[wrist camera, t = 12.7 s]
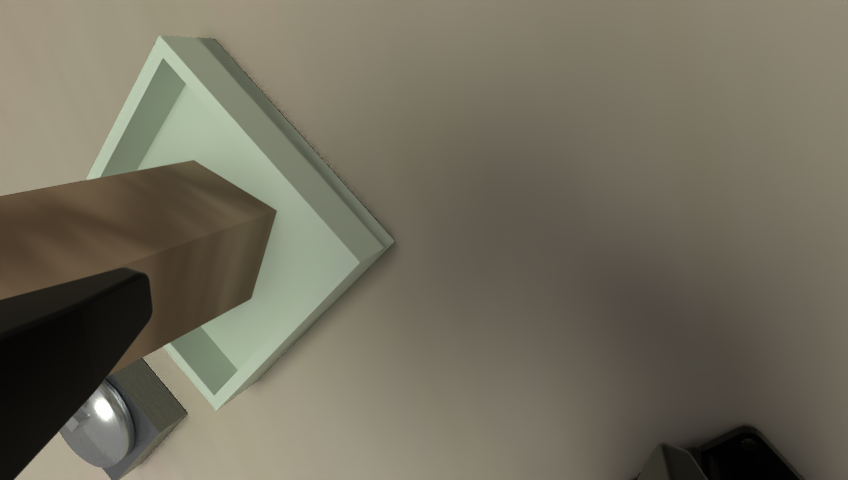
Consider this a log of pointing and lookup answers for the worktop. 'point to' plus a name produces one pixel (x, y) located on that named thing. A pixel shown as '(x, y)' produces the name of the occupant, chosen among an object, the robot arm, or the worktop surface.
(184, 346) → the tray
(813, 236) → the worktop surface
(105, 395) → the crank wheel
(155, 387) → the crank base
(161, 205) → the block
